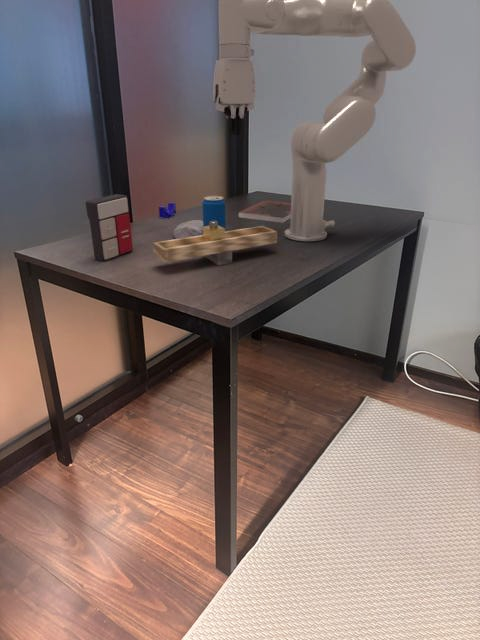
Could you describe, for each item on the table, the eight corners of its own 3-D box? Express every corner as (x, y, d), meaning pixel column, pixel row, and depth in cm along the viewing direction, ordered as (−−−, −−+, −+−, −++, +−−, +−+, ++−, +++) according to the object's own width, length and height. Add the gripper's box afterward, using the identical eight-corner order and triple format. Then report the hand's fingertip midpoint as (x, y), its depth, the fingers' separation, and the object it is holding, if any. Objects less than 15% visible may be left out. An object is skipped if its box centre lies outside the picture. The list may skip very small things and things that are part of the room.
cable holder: (168, 219, 163) (167, 207, 161) (159, 218, 164) (158, 206, 162) (179, 214, 170) (179, 202, 168) (171, 213, 171) (170, 202, 169)
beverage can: (228, 237, 143) (228, 196, 137) (220, 243, 137) (220, 200, 132) (208, 235, 144) (207, 194, 139) (200, 241, 139) (198, 199, 134)
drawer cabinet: (104, 262, 122) (97, 203, 115) (93, 259, 124) (84, 201, 117) (135, 251, 130) (129, 195, 124) (123, 248, 132) (117, 193, 126)
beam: (261, 246, 134) (261, 224, 132) (277, 254, 128) (278, 231, 125) (153, 265, 120) (151, 241, 117) (166, 275, 114) (164, 250, 111)
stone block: (172, 245, 141) (204, 241, 139) (168, 229, 140) (201, 224, 137) (184, 236, 152) (214, 231, 150) (180, 221, 150) (210, 216, 148)
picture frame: (282, 224, 158) (305, 211, 176) (283, 217, 157) (305, 204, 175) (238, 218, 165) (264, 206, 183) (238, 211, 164) (264, 199, 181)
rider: (216, 239, 124) (216, 218, 122) (225, 244, 121) (224, 222, 118) (203, 242, 122) (202, 220, 120) (211, 246, 119) (210, 224, 116)
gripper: (252, 55, 122) (251, 132, 130) (200, 53, 116) (202, 135, 124) (269, 54, 117) (267, 134, 125) (214, 52, 110) (216, 137, 118)
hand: (235, 134), depth 124 cm, fingers closed
